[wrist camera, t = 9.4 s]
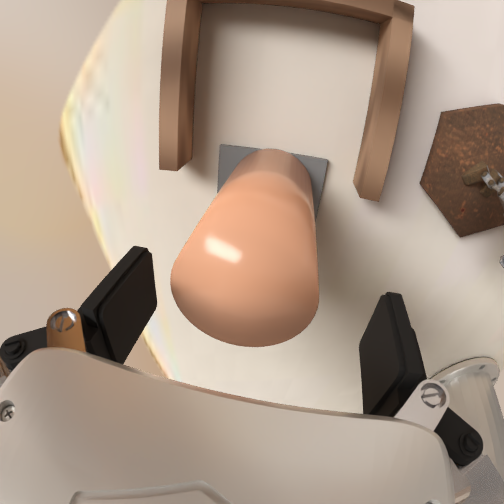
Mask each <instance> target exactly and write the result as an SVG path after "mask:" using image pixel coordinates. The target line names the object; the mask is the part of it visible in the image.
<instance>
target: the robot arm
mask: <svg viewBox="0 0 504 504" xmlns="http://www.w3.org/2000/svg"><path fill="white" fill-rule="evenodd" d="M156 307H157V297H156V288H155V280H154V270H153V260H152V254H151V253H150V252H149V251H148V249H147V248H144V247H139V246H133V247H132V248H131V249H130V250H129V251H128V253H127V254H126V255H125V256H124V257H123V258H122V259H121V260H120V261H119V262H118V263H117V265H116V266H115V267H114V268H113V269H112V270H111V271H110V272H109V274H108V275H107V276H106V277H105V278H104V279H103V280H102V282H101V283H100V284H99V285H98V286H97V287H96V288H95V290H94V291H93V292H92V293H91V294H90V296H89V297H88V298H87V299H86V300H85V301H84V303H83V304H82V305H81V307H80V308H79V309H78V311H76V310H74V309H72V308H62V309H59V310H57V311H55V312H53V313H52V314H51V315H50V316H49V318H48V320H47V324H46V327H43V328H39V329H36V330H33V331H29V332H26V333H22V334H19V335H15V336H13V337H10V338H8V339H7V340H5V341H4V343H3V344H2V346H1V348H0V504H504V419H503V416H502V412H501V409H500V405H499V402H498V399H497V396H496V393H495V390H494V387H493V386H494V384H495V383H496V381H497V379H498V377H499V372H500V371H499V367H498V365H497V363H496V361H495V360H493V359H491V358H484V357H480V358H473V359H470V360H466V361H463V362H460V363H458V364H455V365H453V366H451V367H449V368H447V369H445V370H443V371H442V372H440V373H438V374H437V375H435V376H434V377H432V378H431V379H428V380H427V377H426V373H425V369H424V365H423V361H422V357H421V353H420V349H419V345H418V342H417V338H416V334H415V331H414V329H412V328H411V325H410V321H409V318H408V314H407V311H406V308H405V304H404V301H403V298H402V295H401V294H398V293H392V292H387V293H386V294H385V295H382V296H381V297H380V299H379V302H378V304H377V306H376V308H375V311H374V313H373V315H372V317H371V320H370V322H369V324H368V326H367V328H366V330H365V332H364V334H363V337H362V339H361V341H360V345H359V354H360V365H361V379H362V395H363V414H357V413H347V412H338V411H329V410H320V409H312V408H304V407H297V406H291V405H284V404H278V403H272V402H267V401H261V400H256V399H251V398H246V397H241V396H236V395H231V394H227V393H222V392H218V391H214V390H209V389H205V388H201V387H197V386H193V385H190V384H186V383H182V382H178V381H175V380H171V379H168V378H164V377H161V376H158V375H154V374H151V373H148V372H144V371H141V370H138V369H135V368H131V367H129V366H126V365H123V364H124V362H125V360H126V358H127V356H128V355H129V353H130V352H131V350H132V348H133V346H134V344H135V343H136V341H137V340H138V338H139V336H140V335H141V333H142V331H143V330H144V328H145V326H146V325H147V323H148V321H149V320H150V318H151V316H152V315H153V313H154V311H155V310H156Z"/></svg>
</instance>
